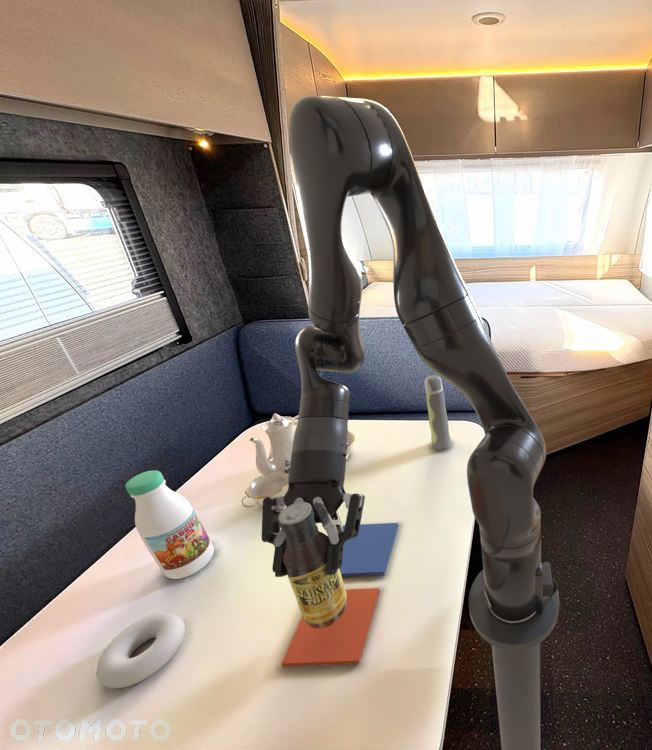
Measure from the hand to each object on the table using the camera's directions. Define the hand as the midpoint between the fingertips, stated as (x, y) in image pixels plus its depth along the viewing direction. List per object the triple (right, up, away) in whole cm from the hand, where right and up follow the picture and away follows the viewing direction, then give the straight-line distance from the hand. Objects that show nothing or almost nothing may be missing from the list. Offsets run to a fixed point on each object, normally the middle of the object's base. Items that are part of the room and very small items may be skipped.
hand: (306, 574), depth 52 cm
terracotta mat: (+1, -12, +7) cm, 14 cm away
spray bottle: (+11, +9, +49) cm, 51 cm away
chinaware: (-22, +3, +41) cm, 47 cm away
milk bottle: (-31, -8, +20) cm, 38 cm away
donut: (-26, -15, +5) cm, 30 cm away
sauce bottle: (0, -9, +6) cm, 11 cm away
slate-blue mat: (+1, -6, +20) cm, 21 cm away
